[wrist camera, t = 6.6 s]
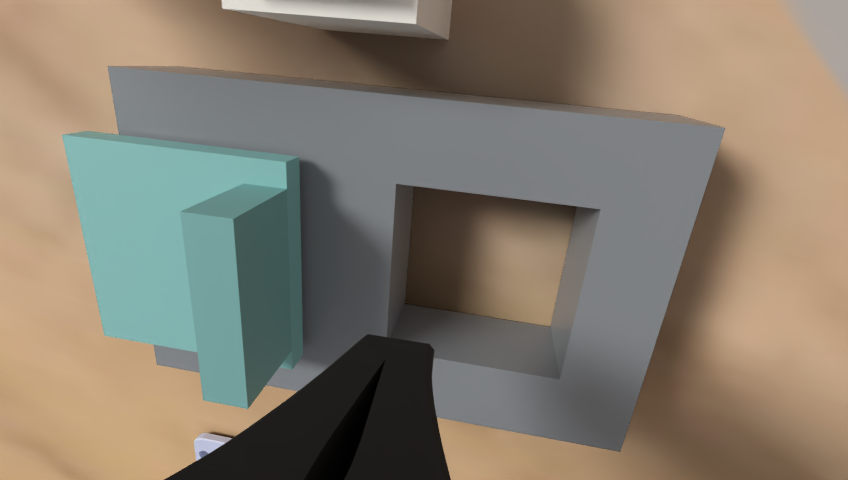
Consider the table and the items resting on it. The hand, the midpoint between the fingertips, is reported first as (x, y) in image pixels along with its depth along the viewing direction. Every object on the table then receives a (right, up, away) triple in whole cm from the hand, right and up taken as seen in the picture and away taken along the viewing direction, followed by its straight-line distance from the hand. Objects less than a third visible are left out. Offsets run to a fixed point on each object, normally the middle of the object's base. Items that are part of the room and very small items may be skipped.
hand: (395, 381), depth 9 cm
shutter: (-6, +2, +5) cm, 8 cm away
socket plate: (0, +3, +7) cm, 8 cm away
